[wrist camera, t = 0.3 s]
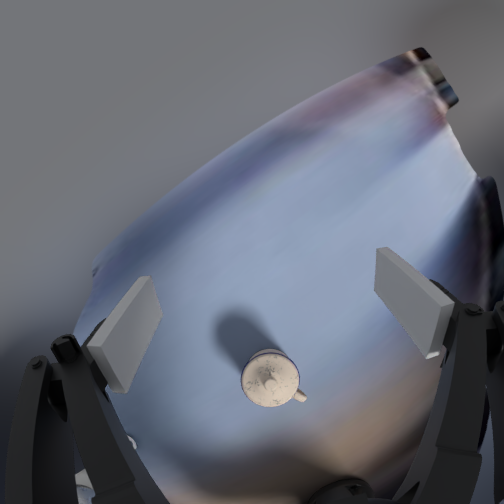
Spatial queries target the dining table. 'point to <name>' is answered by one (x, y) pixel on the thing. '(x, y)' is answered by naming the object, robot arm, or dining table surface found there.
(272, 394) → the teacup with lid
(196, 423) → the dining table surface
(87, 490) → the lid
